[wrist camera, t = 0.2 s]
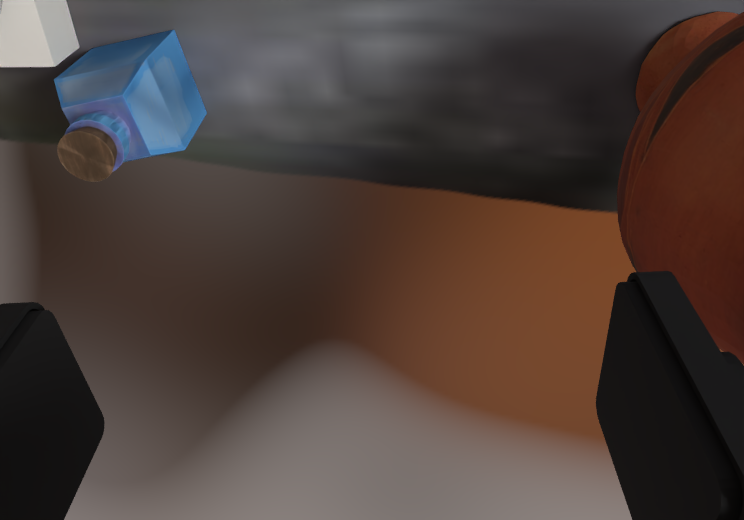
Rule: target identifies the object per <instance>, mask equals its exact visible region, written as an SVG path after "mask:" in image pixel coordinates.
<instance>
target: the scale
mask: <svg viewBox="0 0 744 520" xmlns="http://www.w3.org/2000/svg"><path fill="white" fill-rule="evenodd" d="M78 48H79V44H78V40H77V37H76V33H75V30H74V26H73V23H72V19H71V16H70V12H69V9H68V5H67V2H66V0H3V1H2V10H1V14H0V67H55V66H57V65H58V64H59V63H60V62H62V61H63V60H64V59H65V58H67V57H68V56H69V55H71V54H72V53H73V52H74V51H76V50H77V49H78Z"/></svg>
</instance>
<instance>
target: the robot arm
mask: <svg viewBox="0 0 744 520" xmlns="http://www.w3.org/2000/svg"><path fill="white" fill-rule="evenodd" d="M596 409H597V415H598V419H599V423H600V425H601V428H602V431H603V434H604V437H605V440H606V443H607V446H608V449H609V452H610V455H611V457H612V461H613V464H614V466H615V470H616V473H617V476H618V479H619V482H620V484H621V487H622V490H623V493H624V496H625V499H626V502H627V505H628V508H629V511H630V514H631V517H632V520H744V366H743V364H742V363H741V362H740V360H739V359H738V358H737V357H736V355H734V354H732V353H730V352H720V350H719V348H718V347H717V345H716V343H715V342H714V340H713V338H712V337H711V335H710V333H709V332H708V330H707V329H706V327H705V325H704V324H703V322H702V320H701V319H700V317H699V315H698V314H697V312H696V310H695V309H694V307H693V305H692V304H691V302H690V301H689V299H688V297H687V296H686V294H685V292H684V291H683V289H682V287H681V286H680V284H679V282H678V281H677V279H676V277H675V276H674V275H673V274H672V272H670V271H653V272H634V273H631V274H630V276H629V277H628V280H627V282H620V283H618V284H617V286H616V290H615V296H614V301H613V307H612V312H611V318H610V324H609V329H608V335H607V340H606V346H605V351H604V357H603V363H602V369H601V374H600V380H599V385H598V391H597V396H596ZM103 432H104V417H103V415H102V412H101V410H100V408H99V406H98V404H97V402H96V400H95V398H94V396H93V394H92V392H91V390H90V388H89V386H88V384H87V382H86V380H85V378H84V376H83V373H82V371H81V370H80V367H79V365H78V363H77V361H76V359H75V357H74V355H73V353H72V351H71V349H70V347H69V345H68V343H67V341H66V339H65V337H64V335H63V333H62V331H61V329H60V326H59V324H58V322H57V320H56V319H55V317H54V315H53V314H52V312H50V311H48V310H44V308H43V306H42V305H40V304H38V303H34V302H29V303H9V304H1V305H0V520H64V518H65V516H66V514H67V512H68V509H69V507H70V505H71V503H72V501H73V499H74V497H75V494H76V492H77V490H78V488H79V486H80V484H81V481H82V479H83V477H84V475H85V473H86V470H87V468H88V466H89V464H90V462H91V460H92V458H93V455H94V453H95V451H96V449H97V446H98V445H99V443H100V440H101V438H102V435H103Z"/></svg>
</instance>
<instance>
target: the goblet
mask: <svg viewBox="0 0 744 520" xmlns="http://www.w3.org/2000/svg"><path fill="white" fill-rule="evenodd" d="M636 101H637V106H638V108H639V110H640V114H639V116H638V118H637V120H636V122H635V125H634V127H633V129H632V131H631V134H630V137H629V140H628V143H627V146H626V148H625V151H624V156H623V160H622V165H621V170H620V174H619V181H618V191H617V204H618V222H619V227H620V232H621V237H622V241H623V244H624V247H625V249H626V252H627V254H628V256H629V259H630V261H631V263H632V265H633V267H634V268H635V270H636V271H637V272H653V271H670V272H672V274H673V275H674V276H675V277H676V279H677V281H678V282H679V284H680V286H681V287H682V289H683V291H684V292H685V294H686V296H687V297H688V299H689V301H690V302H691V304H692V305H693V307H694V309H695V310H696V312H697V314H698V315H699V317H700V319H701V320H702V322H703V324H704V325H705V327H706V329H707V330H708V332H709V333H710V335H711V337H712V338H713V340H714V342H715V343H716V345H717V347H718V348H719V349H721V350H722V351H724V352H730V353H732V354H734V355H736V357H737V358H738V359H739V360H740V362H742V363H743V364H744V12H743V13H741V14H739V15H738V14H735V13H729V12H718V11H717V12H713V13H709V14H705V15H701V16H697V17H694V18H691V19H689V20H686V21H684V22H682V23H680V24H679V25H677V26H675V27H673V28H672V29H670V30H669V31H667V32H666V33H665V34H664V35H662V37H661V38H660V39H659V40H658V42H657V43H656V44H655V45H654V47H653V48H652V49H651V50H650V52H649V53H648V55H647V57H646V58H645V60H644V61H643V63H642V66H641V69H640V73H639V77H638V81H637V85H636Z"/></svg>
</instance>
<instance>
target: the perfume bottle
mask: <svg viewBox="0 0 744 520" xmlns="http://www.w3.org/2000/svg"><path fill="white" fill-rule="evenodd" d="M54 82H55V86H56V89H57V93H58V97H59V100H60V104H61V108H62V110H63V112H64V114H65V115H66V117H67V119H68V121H69V123H70V126H69V127H68V128H67V130H66V132H65V135H64V136H63V137H62V138H61V139H60V141H59V144H58V156H59V159H60V161H61V163H62V164H63V166H64V167H65V168H66V170H68V171H69V172H70V173H71V174H73V175H74V176H76V177H78V178H80V179H82V180H86V181H101V180H103V179H106V178H107V177H108V176H109V175H110V174H111V173H112V171H115V170H116V169H117V168H118V167H119V166H121V164H122V163H123V162H127V161H132V160H137V159H142V158H147V157H152V156H157V155H162V154H167V153H173V152H178V151H183V150H185V149H186V147H187V146H188V144H189V142H190V140H191V139H192V137H193V135H194V134H195V132H196V130H197V129H198V127H199V125H200V124H201V122H202V120H203V119H204V117H205V115H206V114H207V112H206V109H205V107H204V104H203V102H202V99H201V97H200V94H199V92H198V89H197V87H196V84H195V82H194V79H193V76H192V74H191V71H190V69H189V66H188V64H187V61H186V59H185V56H184V54H183V51H182V49H181V46H180V43H179V41H178V38H177V36H176V33H175V31H174V30H170V31H166V32H161V33H157V34H153V35H148V36H144V37H140V38H135V39H131V40H127V41H122V42H118V43H113V44H109V45H105V46H100V47H96V48H92V49H91V50H89V51H88V52H87V53H86V54H85V55H83V56H82V57H81V58H80V59H79V60H77V61H76V62H75V63H74V64H72V65H71V66H70V67H69V68H68V69H66V70H65V71H64V72H63V73H61V74H60V75H59V76H58V77H57V78H55V79H54Z"/></svg>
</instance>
